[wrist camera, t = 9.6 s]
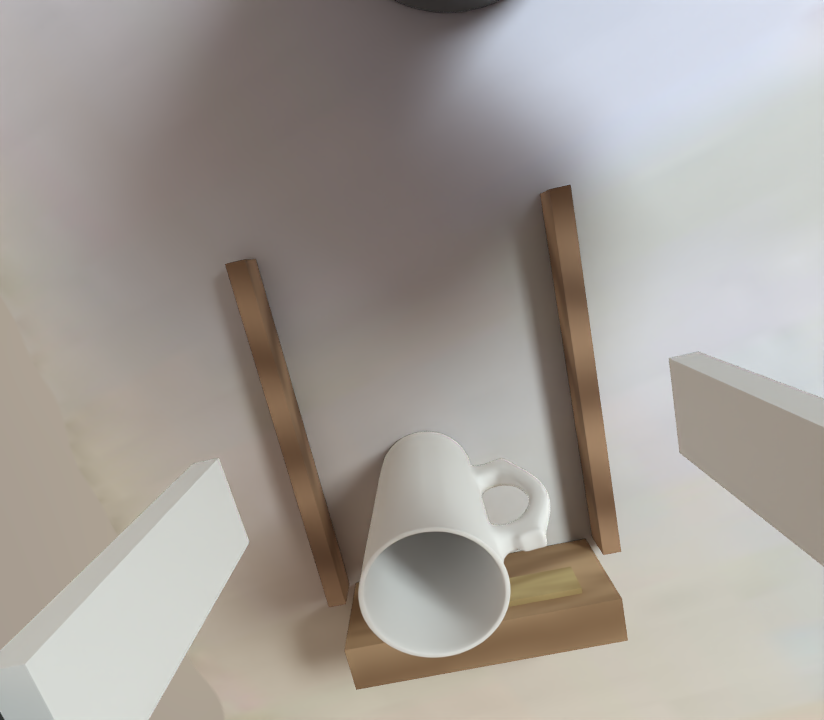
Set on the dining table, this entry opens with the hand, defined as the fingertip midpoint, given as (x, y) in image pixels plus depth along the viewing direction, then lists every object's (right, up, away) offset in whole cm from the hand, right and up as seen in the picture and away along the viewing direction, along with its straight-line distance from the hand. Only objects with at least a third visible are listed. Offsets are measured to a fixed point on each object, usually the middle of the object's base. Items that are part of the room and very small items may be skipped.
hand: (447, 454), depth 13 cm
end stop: (+4, -14, +22) cm, 26 cm away
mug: (+2, -5, +20) cm, 20 cm away
